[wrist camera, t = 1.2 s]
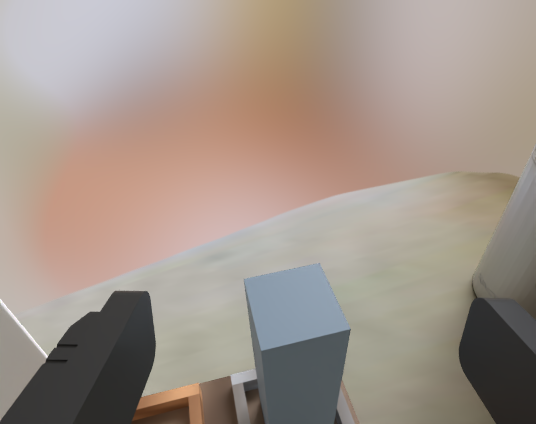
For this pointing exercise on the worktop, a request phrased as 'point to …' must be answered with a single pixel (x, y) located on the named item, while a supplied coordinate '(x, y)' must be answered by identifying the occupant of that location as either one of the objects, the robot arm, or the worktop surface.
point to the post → (297, 345)
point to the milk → (16, 358)
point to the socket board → (219, 403)
